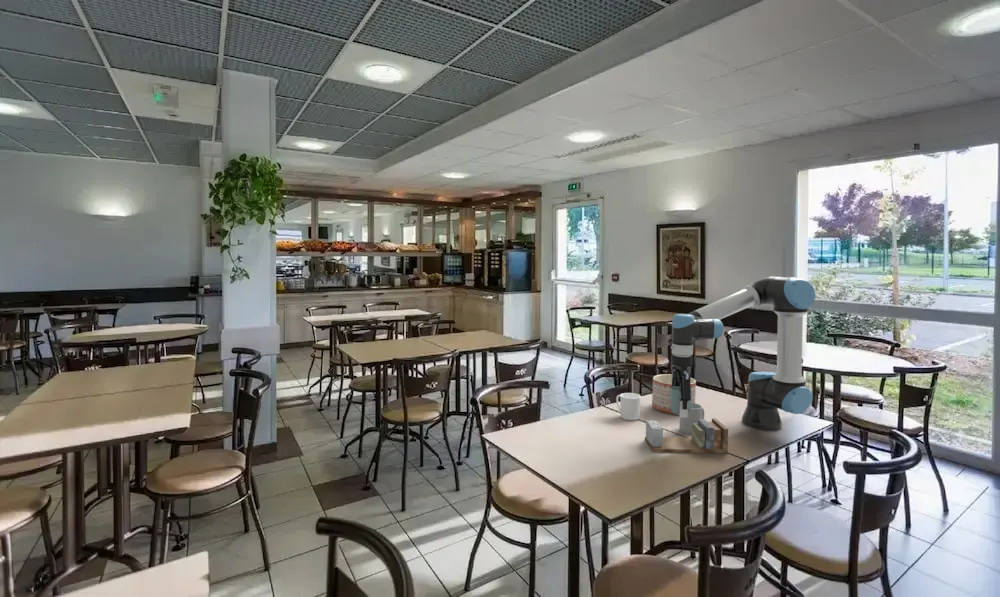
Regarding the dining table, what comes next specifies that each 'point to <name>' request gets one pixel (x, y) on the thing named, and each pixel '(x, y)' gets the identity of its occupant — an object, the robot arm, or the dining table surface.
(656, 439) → the bookend
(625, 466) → the dining table surface
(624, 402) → the mug
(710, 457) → the dining table surface
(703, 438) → the caddy
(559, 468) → the dining table surface
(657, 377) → the planter
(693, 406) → the mug
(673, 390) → the cup
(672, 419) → the dining table surface
